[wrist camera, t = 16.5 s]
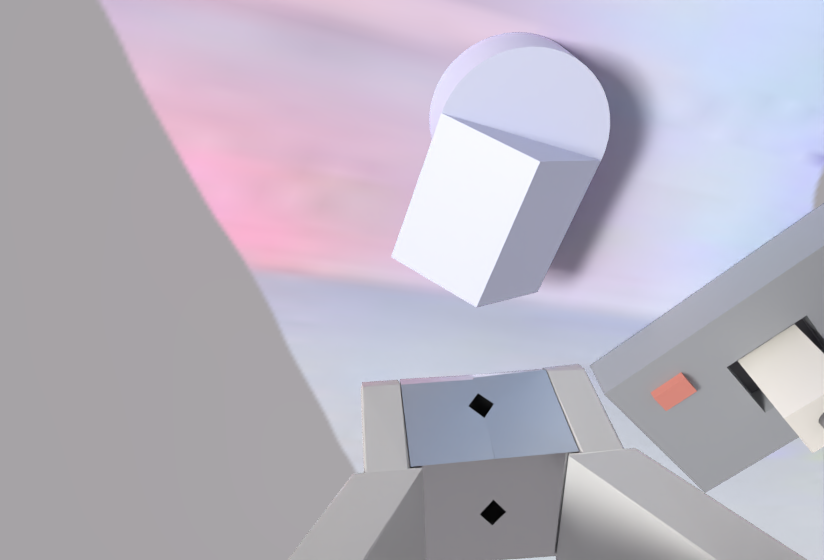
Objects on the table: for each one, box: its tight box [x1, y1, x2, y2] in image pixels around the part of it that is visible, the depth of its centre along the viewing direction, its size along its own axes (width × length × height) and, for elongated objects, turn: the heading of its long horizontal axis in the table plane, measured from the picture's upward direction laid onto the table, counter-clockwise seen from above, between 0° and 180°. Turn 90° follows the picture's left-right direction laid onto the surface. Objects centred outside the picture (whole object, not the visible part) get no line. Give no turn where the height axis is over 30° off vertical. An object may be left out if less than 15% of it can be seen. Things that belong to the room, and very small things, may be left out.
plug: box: [738, 324, 824, 453], centre depth 43 cm, size 4×4×8 cm
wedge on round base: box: [391, 32, 610, 307], centre depth 36 cm, size 9×7×13 cm
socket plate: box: [590, 203, 824, 493], centre depth 46 cm, size 20×14×4 cm
